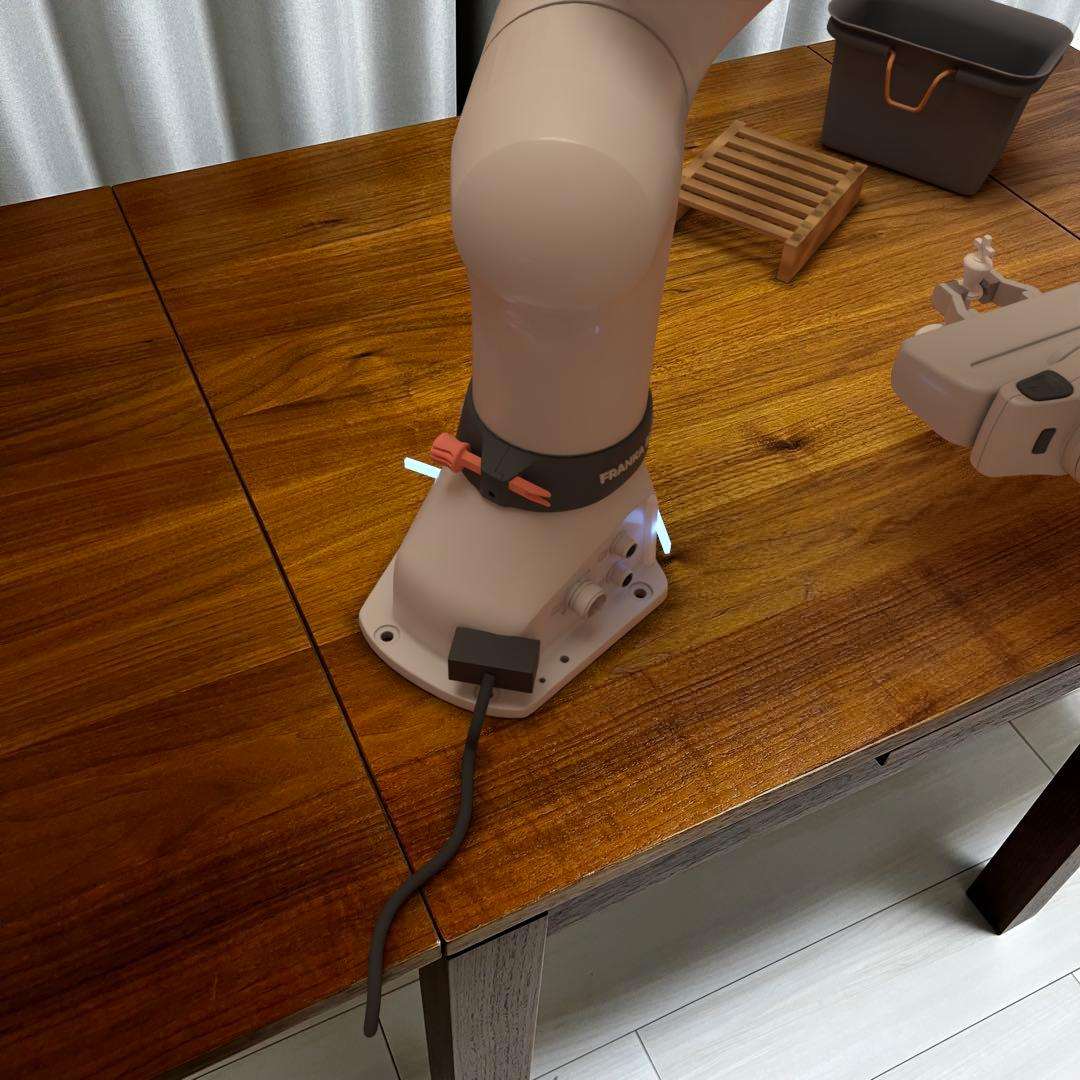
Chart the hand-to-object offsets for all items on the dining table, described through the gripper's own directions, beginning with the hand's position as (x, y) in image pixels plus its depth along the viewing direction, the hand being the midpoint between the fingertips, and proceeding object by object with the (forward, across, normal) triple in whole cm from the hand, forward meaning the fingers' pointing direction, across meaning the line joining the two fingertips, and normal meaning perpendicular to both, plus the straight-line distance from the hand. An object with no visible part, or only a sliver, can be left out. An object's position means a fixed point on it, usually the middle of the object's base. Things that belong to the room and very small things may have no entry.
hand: (958, 283), depth 85 cm
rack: (+30, -6, +14) cm, 33 cm away
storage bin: (+32, -25, +14) cm, 43 cm away
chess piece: (-1, 0, +6) cm, 6 cm away
